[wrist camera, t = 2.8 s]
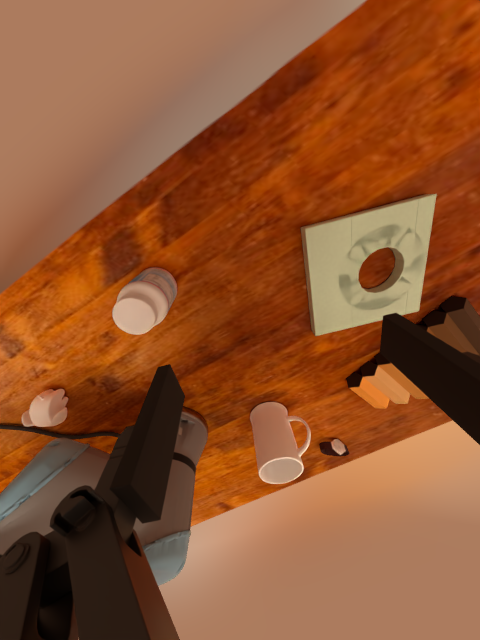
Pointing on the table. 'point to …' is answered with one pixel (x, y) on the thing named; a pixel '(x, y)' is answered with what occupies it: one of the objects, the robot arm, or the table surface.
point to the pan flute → (389, 383)
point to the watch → (334, 448)
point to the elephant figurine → (46, 409)
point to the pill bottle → (145, 301)
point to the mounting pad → (350, 252)
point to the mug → (277, 443)
